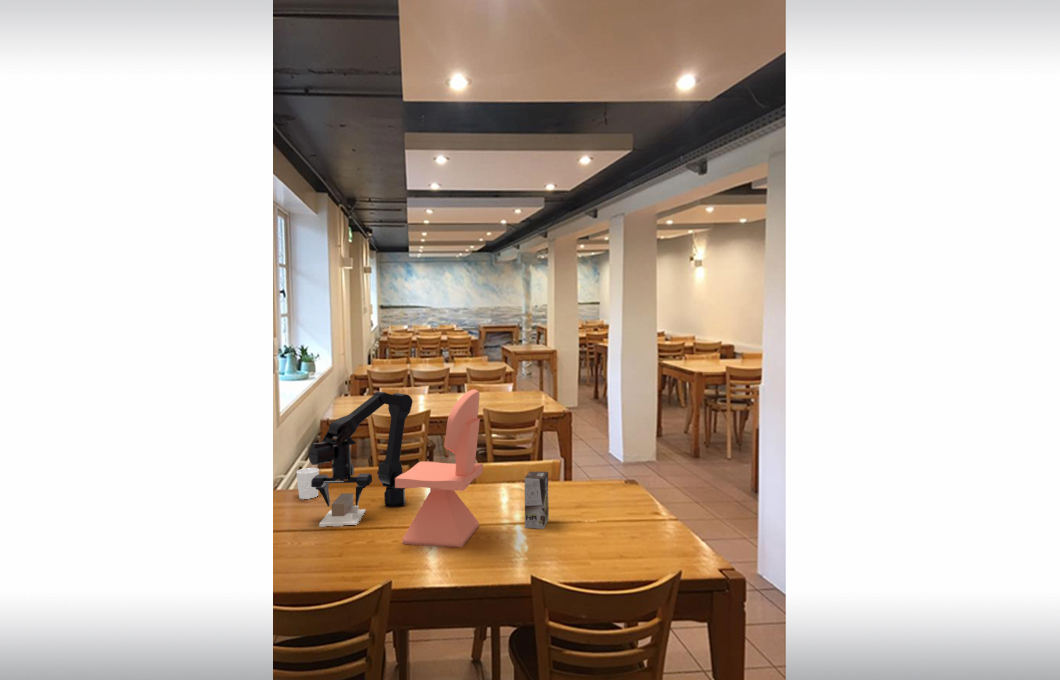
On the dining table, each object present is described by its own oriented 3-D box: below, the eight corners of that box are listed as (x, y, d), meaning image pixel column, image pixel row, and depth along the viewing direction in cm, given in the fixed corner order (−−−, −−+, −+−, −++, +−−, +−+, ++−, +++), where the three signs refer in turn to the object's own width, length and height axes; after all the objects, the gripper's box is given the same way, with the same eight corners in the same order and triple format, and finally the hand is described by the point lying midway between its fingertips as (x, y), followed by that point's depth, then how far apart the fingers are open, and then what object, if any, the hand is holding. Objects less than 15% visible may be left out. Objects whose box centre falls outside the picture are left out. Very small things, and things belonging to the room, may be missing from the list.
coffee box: (544, 529, 207) (543, 478, 206) (524, 528, 208) (523, 477, 207) (549, 519, 216) (548, 471, 215) (530, 518, 217) (529, 470, 216)
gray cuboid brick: (341, 505, 225) (341, 493, 225) (353, 504, 225) (353, 493, 225) (331, 516, 213) (331, 504, 213) (344, 516, 213) (343, 503, 213)
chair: (425, 519, 218) (422, 383, 216) (491, 522, 214) (488, 384, 211) (392, 549, 192) (388, 395, 189) (466, 554, 187) (463, 396, 185)
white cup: (315, 500, 241) (314, 473, 241) (294, 500, 241) (293, 473, 241) (322, 493, 249) (321, 467, 248) (302, 494, 249) (301, 467, 249)
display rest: (365, 512, 226) (365, 503, 226) (356, 525, 212) (356, 516, 212) (330, 513, 226) (330, 504, 226) (319, 526, 212) (318, 517, 212)
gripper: (374, 453, 226) (375, 497, 227) (319, 454, 226) (320, 499, 226) (368, 460, 215) (369, 507, 216) (310, 462, 215) (311, 509, 215)
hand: (342, 505), depth 219 cm, fingers open, 9 cm apart
